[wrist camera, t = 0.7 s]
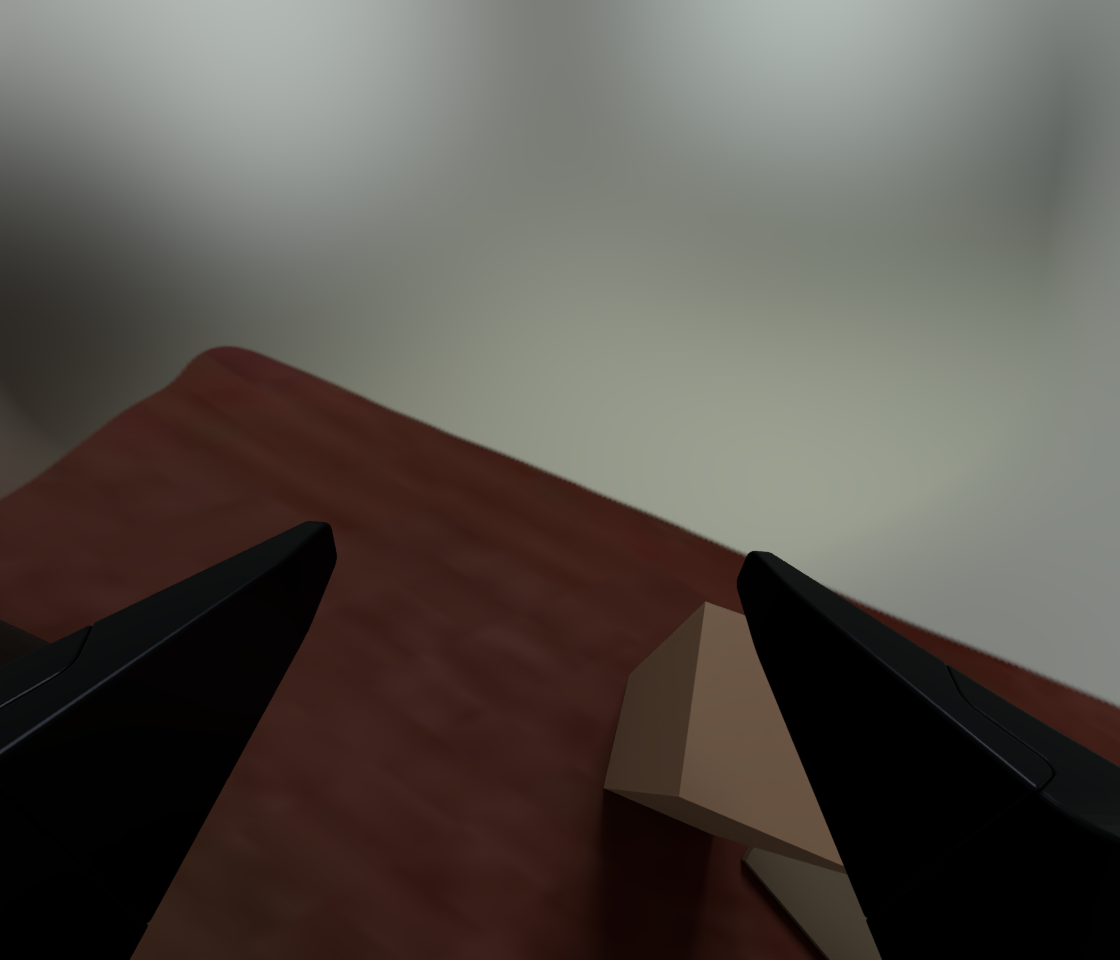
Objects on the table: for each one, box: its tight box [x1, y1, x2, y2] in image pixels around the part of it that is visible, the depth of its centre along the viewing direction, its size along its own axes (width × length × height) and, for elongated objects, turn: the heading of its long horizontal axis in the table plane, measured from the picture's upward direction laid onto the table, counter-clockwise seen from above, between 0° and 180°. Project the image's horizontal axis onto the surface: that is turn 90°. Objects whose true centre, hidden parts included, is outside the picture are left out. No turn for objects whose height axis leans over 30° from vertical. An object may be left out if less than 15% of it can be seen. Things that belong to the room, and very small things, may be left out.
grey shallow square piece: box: [742, 846, 882, 960], centre depth 17 cm, size 10×10×3 cm
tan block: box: [604, 602, 847, 875], centre depth 15 cm, size 5×5×11 cm
